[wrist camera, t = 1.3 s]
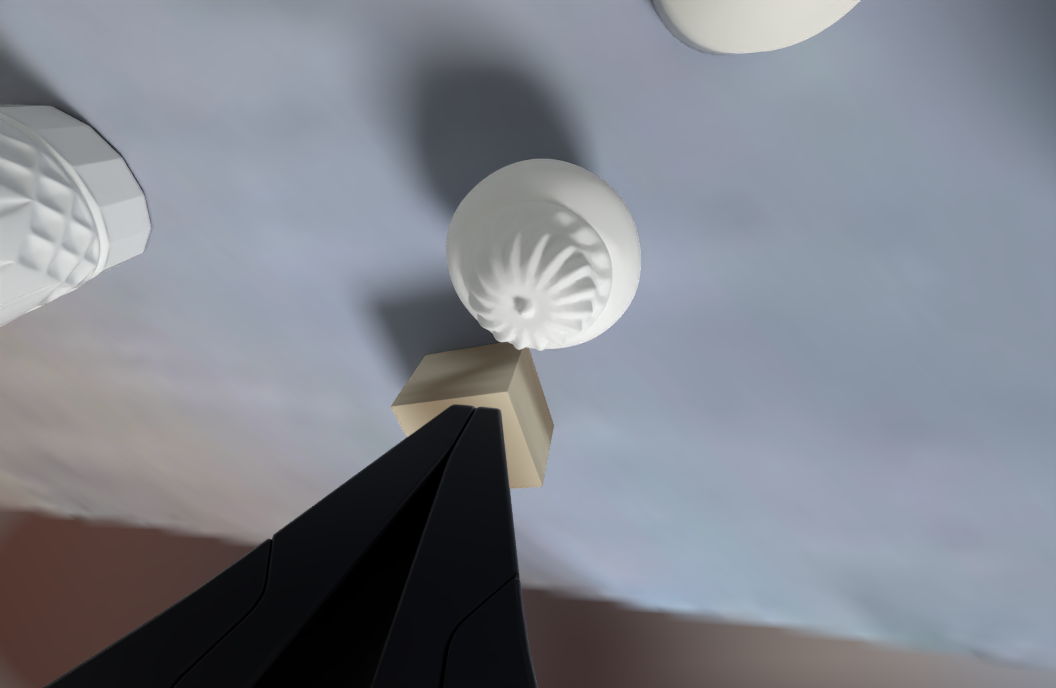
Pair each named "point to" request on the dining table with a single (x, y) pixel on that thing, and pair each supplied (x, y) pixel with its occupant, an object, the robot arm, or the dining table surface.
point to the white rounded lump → (747, 22)
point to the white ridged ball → (544, 254)
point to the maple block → (485, 401)
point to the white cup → (61, 207)
